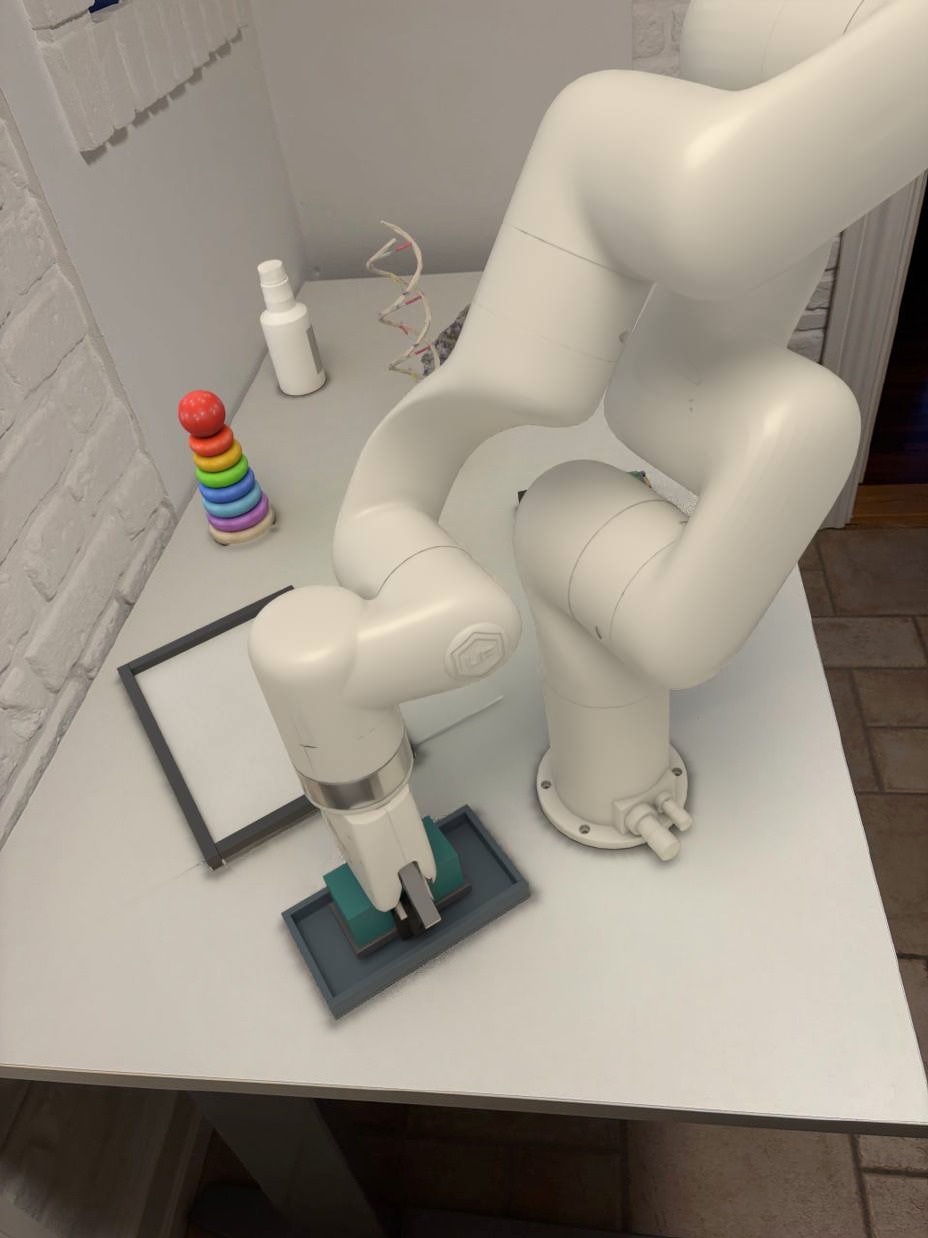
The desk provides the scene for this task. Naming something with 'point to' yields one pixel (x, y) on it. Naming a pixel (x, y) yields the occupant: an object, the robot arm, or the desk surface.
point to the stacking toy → (223, 472)
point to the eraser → (378, 927)
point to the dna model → (405, 293)
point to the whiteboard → (218, 737)
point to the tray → (362, 979)
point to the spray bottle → (289, 333)
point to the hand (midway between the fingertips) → (401, 899)
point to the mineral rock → (445, 343)
